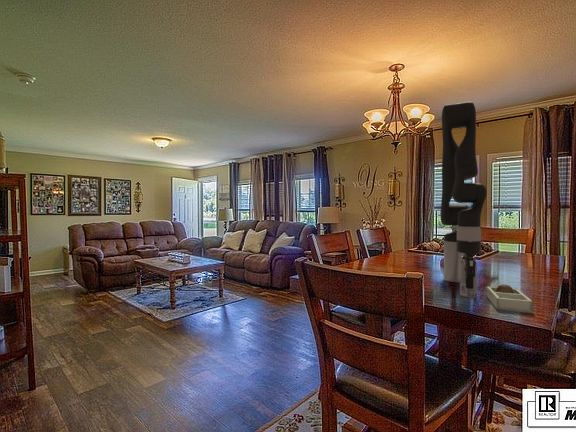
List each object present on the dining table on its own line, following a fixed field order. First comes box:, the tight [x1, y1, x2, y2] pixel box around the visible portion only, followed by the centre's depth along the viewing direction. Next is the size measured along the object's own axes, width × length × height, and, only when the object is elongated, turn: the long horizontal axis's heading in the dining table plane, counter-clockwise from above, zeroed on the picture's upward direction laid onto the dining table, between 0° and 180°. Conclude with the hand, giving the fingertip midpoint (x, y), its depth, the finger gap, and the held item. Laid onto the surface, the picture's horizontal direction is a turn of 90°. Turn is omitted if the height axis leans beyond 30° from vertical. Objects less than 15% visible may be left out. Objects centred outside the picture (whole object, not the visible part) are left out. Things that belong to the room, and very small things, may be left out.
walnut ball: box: [496, 284, 514, 294], centre depth 105 cm, size 5×5×5 cm
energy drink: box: [459, 262, 478, 299], centre depth 111 cm, size 5×5×12 cm
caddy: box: [486, 286, 534, 314], centre depth 101 cm, size 16×9×4 cm, turn 157°
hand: (468, 286), depth 111 cm, fingers closed on energy drink, 5 cm apart
